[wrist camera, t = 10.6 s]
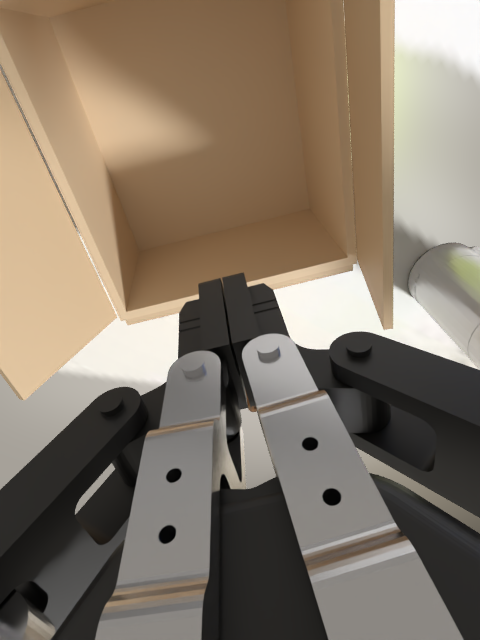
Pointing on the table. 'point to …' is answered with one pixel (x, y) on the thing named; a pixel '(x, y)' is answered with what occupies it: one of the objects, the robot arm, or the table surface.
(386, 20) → the panel
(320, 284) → the table surface
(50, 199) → the outer flap
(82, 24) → the carton
